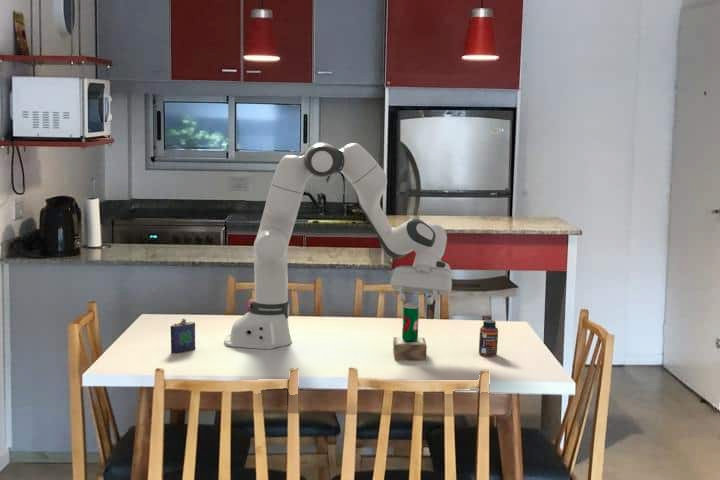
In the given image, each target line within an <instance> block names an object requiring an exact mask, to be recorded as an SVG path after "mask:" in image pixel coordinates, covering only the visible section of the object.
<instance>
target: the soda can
mask: <svg viewBox="0 0 720 480" xmlns="http://www.w3.org/2000/svg"><path fill="white" fill-rule="evenodd" d="M419 315H420V307H419V304H418V303H416V302H404V304H403V307H402V330H401V331H402V333H401V337H402V339H403V340H404V341H406V342H415V341H417V339H418V337H419Z"/></svg>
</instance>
